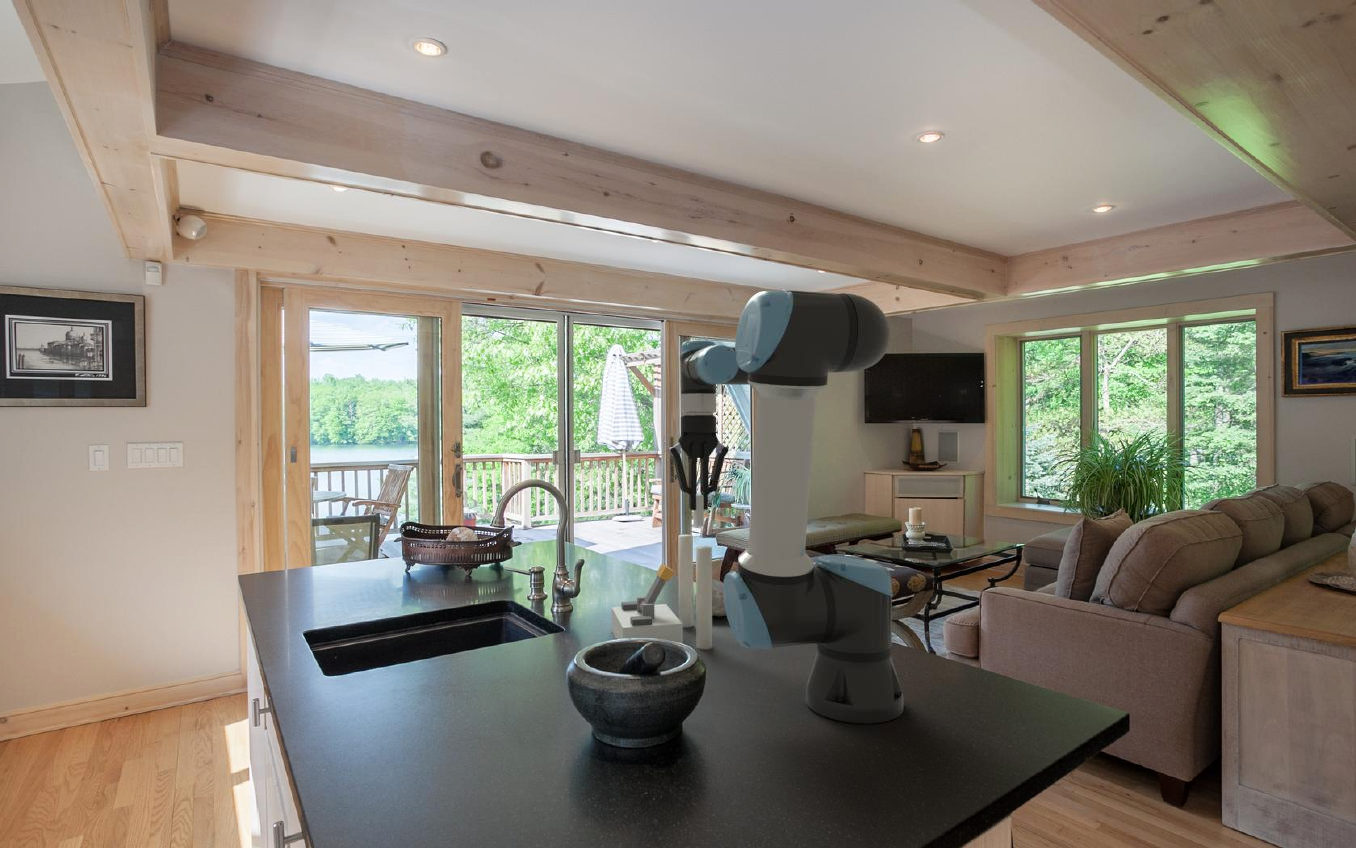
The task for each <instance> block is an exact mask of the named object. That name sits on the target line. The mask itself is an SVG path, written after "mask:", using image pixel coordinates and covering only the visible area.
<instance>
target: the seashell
mask: <svg viewBox="0 0 1356 848" xmlns="http://www.w3.org/2000/svg"><path fill="white" fill-rule="evenodd" d="M694 597H695V598H694V599H695V600H694V606H693V609H694V610H695V611H696V594H695V596H694ZM724 616H727V614H726V610H725V604H724V596H723V582H722V581H721V580H720V579H713V578H712V617H724Z"/></svg>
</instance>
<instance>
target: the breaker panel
mask: <svg viewBox="0 0 1356 848" xmlns="http://www.w3.org/2000/svg"><path fill="white" fill-rule="evenodd" d="M645 597H646V596H638V597H636V601H635V600H633V601H621V602H620V604H621V606H613V607H611V631H612V633H613V635H614V638H615V639H616V638H630V637H648V638H658V639H666V640H670V641H679V642H682V643H683V641H684V638H683V635H684V634H683V633H684V631H683V629H684V628H683V624H682V622H681V621H680V620H679V617H677V615H676V614H675V613H674V611H672V609H671V608H670V607H669V606H668V605H667V604H666V603H663V604H660V603H659V604H655V603H654V604H642V611H641V609H640V607H639V604H640V603H641V602H642V601H644V599H645Z"/></svg>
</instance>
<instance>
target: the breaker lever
mask: <svg viewBox="0 0 1356 848" xmlns="http://www.w3.org/2000/svg"><path fill="white" fill-rule="evenodd" d="M674 573H675V572H674V570H673V569H672V568H670V567H669V566H667V565H665V564H664V563H661V564H660V566H659V568H658V570H657V572H656V577H655V579H654V581H653V583H652V584H651V587H650V588H649V590H648V592H647V593H646V596H644V597H645V599H644V601H642V602H641V603H640V604H639V607H640V609H641V611H642V604H654V605H655V603H656V601H657V599H658V598H659V595H660V594H661V591H662V590H663V588H664V586H665V584H666V583H667V582H669V581H670V579H671V578H672V576H673V574H674Z"/></svg>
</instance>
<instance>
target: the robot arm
mask: <svg viewBox="0 0 1356 848" xmlns="http://www.w3.org/2000/svg"><path fill="white" fill-rule="evenodd" d="M890 327H891V326H890V323H889V321H888V319H887V316H886V315H885V313H884V311H883V310H882V309H881V308H880V307H879V306H878V305H877V304H876V303H874V302H873V301H872V300H870V299H868V298H866V297H864V296H862V295H858V294H853V293H842V292H841V293H836V292H819V291H818V292H815V291H802V290H801V291H800V290H789V289H780V290H764V291H759V292H756V294H754V295H753V296H752V297H751V298H750V299H749V300H748V301H747V303H746V305H745V306H744V308H743V310H742V313H741V315H740V318H739V322H738V323H737V327H736V334H735V343H734V346H727V345H724V344H716V343H715V342H714V341H712V340H704V339H703V340H702V339H700V340H699V339H698V340H697V339H695V340H693V339H692V340H686V341H684V342H683V343H682V344H681V347H680V356H679V360H680V412H681V413H683V415H681V417H680V436H679V438H678V443H676V444H675V445H673V446H670V447H668V449H667V452H669V454H670V456H671V457H672V459H673V463H674V467H675V468H674V469H675V472H676V475H677V481H678V484H679V489H680V491H681V492H683V493H685V494H687V495H688V508H689V510H690V511H693V526H694V527H704V526H705V525H704V519H705V518H704V511H707V510H708V508H709V495H710V494H711V493H715V492H716V491H717V490H718V487H719V486H718V485H719V481H720V477H721V472H722V468H723V463H724V459H725V457H726V456H727V454H728V453H729V450H730V448H728V447H727V446H724V445H723V444H721V443H720V442H719V439H718V436H717V417H716V415H714V414H715V413H716V412H717V385H728V386H730V385H735V386H737V385H739V386H741V385H745V386H746V385H749V386H750V387H751V388H752V389H753V390H754V391H755V393H756V405H755V406H756V408H755V409H756V410H755V411H756V412H755V426H754V428H755V429H754V442H753V443H754V444H753V462H752V464H753V465H752V479H751V481H752V482H751V498H750V499H751V500H750V501H751V502H750V515H749V516H750V517H749V518H750V519H749V532H748V533H749V535H748V536H749V537H748V547H747V548H746V549H745V550H744V551H743V552H742V553H740V554H739V555H738V558H737V559H738V560H737V570H732V571H730V572H728V573H726V574H725V576H724V578H723V582H722V583H723V596H724V604H725V610H726V614H727V615H726V618H727V620H728V624H729V627H730V630H731V633H732V634H733V636H734V638H735V640H736V641H737V643H738V644H740V645H741V646H742V647H744V648H745V649H750V650H751V649H752V650H753V649H766V650H771V649H775V648H786V647H787V648H788V647H795V646H797V647H798V646H807V645H816V655H815V658H814V661H813V665H812V667H811V671H810V674H809V677H808V680H807V683H806V686H805V704H806V705H807V707H808V708H809V709H811V711H813V712H815V714H816V713H817V715H820V716H823V717H826V718H828V719H831V720H835V721H838V722H846V723H853V724H879V723H885V722H888V721H892V720H895V719H897V718H899V717H901V715H902V714H903V712H904V694H903V690H902V686H901V684H900V681H899V677H898V674H897V671H896V669H895V665H894V662H893V658H892V656H893V654H892V653H893V652H892V650H893V649H892V647H893V645H892V644H893V643H892V642H893V641H892V638H893V637H892V636H893V635H892V633H893V632H892V628H893V627H892V625H893V624H892V623H893V621H892V620H893V619H892V618H893V617H892V615H893V611H892V610H893V608H892V603H893V602H892V601H893V599H892V598H893V597H894V594H893V587H892V585H893V584H892V577H891V573H890V571H889V570H888V569H887V568H886V567H885V566H883V565H881V564H879V563H877V562H873V561H869V560H865V559H860V558H854V557H847V556H840V555H839V556H838V555H820V556H818V557H817V558H816V561H815V562H814V561H813V559H812V558H811V557H810V556H809V555H808V554H807V552H806V545H807V543H806V542H807V527H808V515H809V514H808V513H809V512H808V511H809V499H810V484H811V483H810V482H811V469H812V454H813V442H814V426H815V425H814V424H815V411H816V409H815V408H816V398H817V396H818V395H819V394H821V392H822V391H823V390H825V389H826V388H827V387H828V378H829V373H850V372H858V371H863V370H865V369H869V368H870V367H873V366H874V365H876V364H878V362H880V361H881V359H883V357H884V356H885V354H887V353H886V352H887V350H888V348H889V345H890V340H891V328H890ZM681 449H682V450H681ZM714 451H715V453H716V454H715V457H714V461H713V466H712V471H711V474H710V476H709V472H710V471H709V470H710V469H709V468H710V466H709V465H710V456H711V455H712V454H713V452H714ZM682 452H684V453H685V455H686V456H687V461H688V482H687V477H686V472H685V469H684V465H683V461H682V457H681V454H682ZM698 459H699V479H700V480H699V483H700V484H699V485H700V487H699V488H700V489H699V490H700V493H699V494H698V493H697V492H698V487H697V486H698V484H697V483H698V476H697V475H698ZM709 477H710V479H709Z"/></svg>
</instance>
